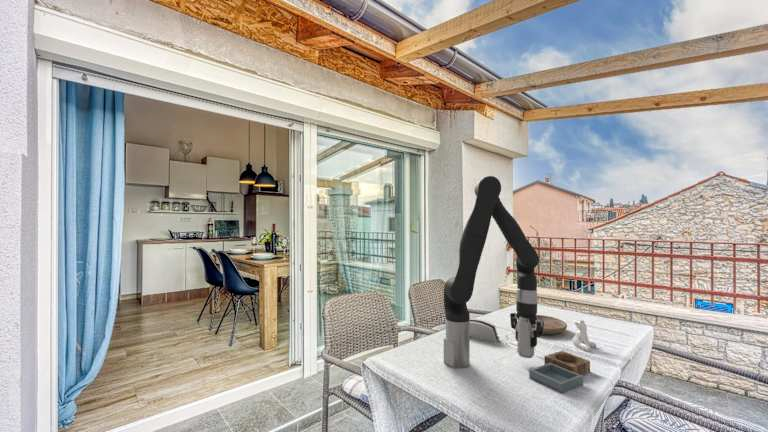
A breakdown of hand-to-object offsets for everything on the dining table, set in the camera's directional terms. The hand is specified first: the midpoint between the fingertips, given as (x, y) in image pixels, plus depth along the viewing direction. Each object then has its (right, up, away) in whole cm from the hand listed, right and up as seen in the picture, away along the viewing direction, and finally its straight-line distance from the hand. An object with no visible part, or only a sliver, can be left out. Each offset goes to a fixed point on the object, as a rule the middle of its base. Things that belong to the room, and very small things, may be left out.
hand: (525, 343), depth 130 cm
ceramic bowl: (+26, -10, +42) cm, 51 cm away
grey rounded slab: (-9, -9, +30) cm, 33 cm away
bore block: (+14, -8, -4) cm, 17 cm away
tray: (+5, -8, -14) cm, 16 cm away
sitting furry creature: (+33, -9, +19) cm, 39 cm away
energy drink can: (0, -5, 0) cm, 5 cm away
